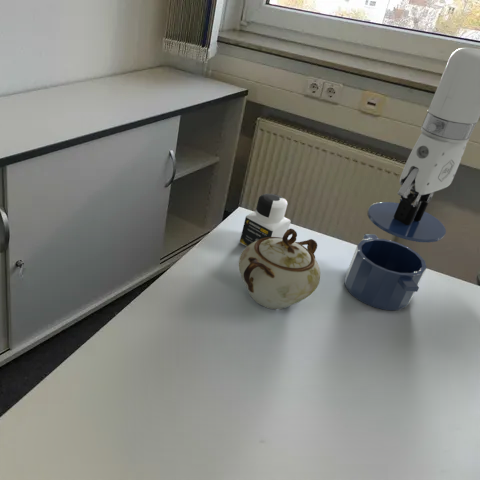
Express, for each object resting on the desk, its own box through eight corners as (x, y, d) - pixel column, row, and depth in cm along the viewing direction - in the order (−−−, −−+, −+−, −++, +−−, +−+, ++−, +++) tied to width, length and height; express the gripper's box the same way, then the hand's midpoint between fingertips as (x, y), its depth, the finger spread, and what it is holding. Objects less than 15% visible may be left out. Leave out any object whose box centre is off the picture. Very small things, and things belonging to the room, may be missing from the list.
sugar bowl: (275, 261, 116) (293, 200, 107) (333, 301, 106) (358, 237, 97) (208, 290, 105) (222, 224, 97) (265, 336, 95) (286, 267, 87)
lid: (419, 208, 108) (430, 183, 105) (458, 247, 97) (472, 219, 93) (354, 205, 107) (364, 179, 104) (386, 243, 95) (398, 215, 92)
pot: (385, 265, 118) (399, 232, 113) (428, 320, 103) (447, 285, 98) (330, 263, 117) (342, 229, 112) (365, 318, 102) (381, 283, 97)
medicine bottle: (238, 242, 121) (250, 195, 114) (257, 233, 125) (269, 187, 118) (265, 257, 117) (278, 209, 110) (283, 247, 121) (297, 200, 114)
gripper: (442, 141, 84) (399, 240, 94) (493, 128, 92) (448, 220, 102) (399, 124, 89) (363, 219, 99) (451, 113, 97) (412, 202, 107)
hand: (406, 219), depth 101 cm, fingers closed on lid, 2 cm apart
